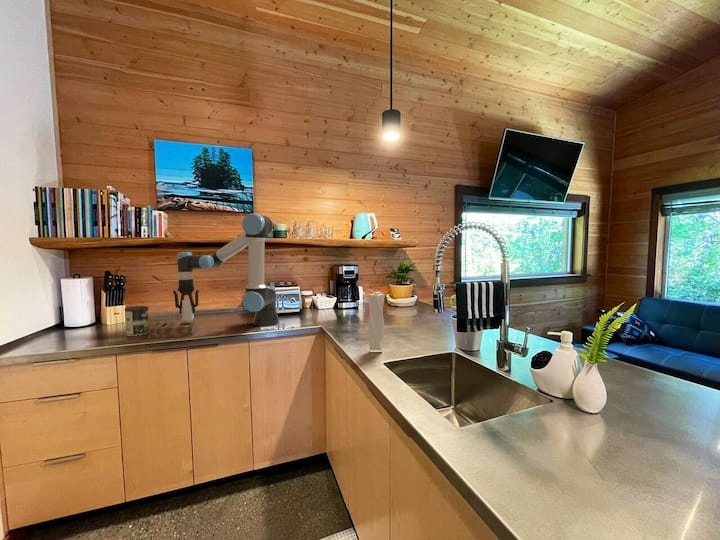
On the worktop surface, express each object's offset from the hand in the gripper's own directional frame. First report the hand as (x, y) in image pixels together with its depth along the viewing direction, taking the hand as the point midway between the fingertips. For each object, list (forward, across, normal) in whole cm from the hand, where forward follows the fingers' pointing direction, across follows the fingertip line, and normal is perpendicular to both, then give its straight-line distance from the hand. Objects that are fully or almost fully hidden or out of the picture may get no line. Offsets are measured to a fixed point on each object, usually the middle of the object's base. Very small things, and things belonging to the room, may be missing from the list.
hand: (187, 319), depth 185 cm
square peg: (+1, 0, 0) cm, 1 cm away
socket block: (+5, +4, +15) cm, 16 cm away
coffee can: (+5, +22, +9) cm, 25 cm away
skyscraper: (+7, -90, +71) cm, 115 cm away
